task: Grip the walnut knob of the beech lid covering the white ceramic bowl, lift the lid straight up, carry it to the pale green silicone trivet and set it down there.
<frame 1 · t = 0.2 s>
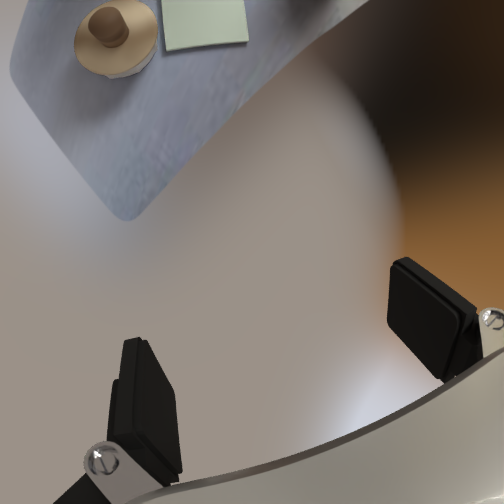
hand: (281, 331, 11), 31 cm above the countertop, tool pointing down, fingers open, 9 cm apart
bowl: (123, 46, 29), on the countertop
lid: (115, 36, 24), point 5 cm above the countertop, touching bowl
trivet: (203, 11, 29), on the countertop
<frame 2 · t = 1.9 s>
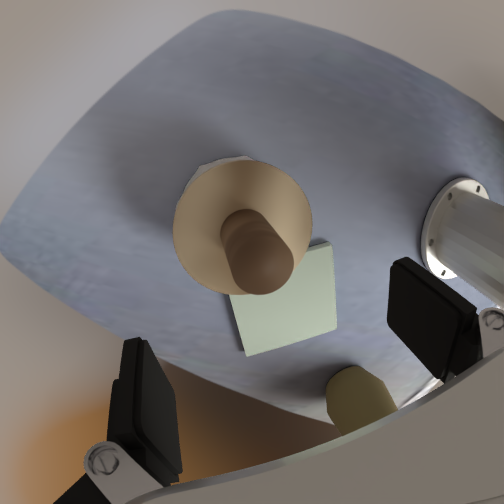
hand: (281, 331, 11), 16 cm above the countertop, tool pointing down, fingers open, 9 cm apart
bowl: (232, 208, 25), on the countertop
lid: (242, 228, 21), point 5 cm above the countertop, touching bowl
squeeze bottle: (344, 380, 38), on the countertop
trivet: (284, 301, 30), on the countertop
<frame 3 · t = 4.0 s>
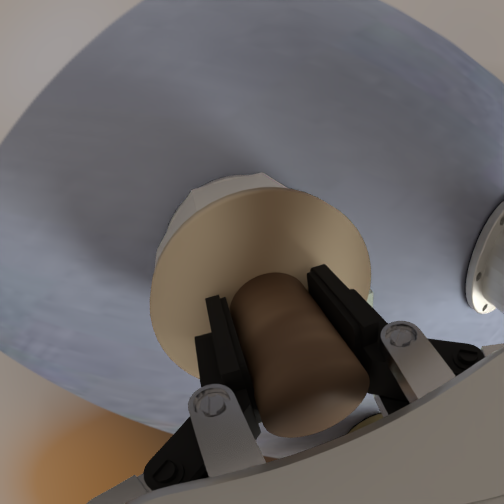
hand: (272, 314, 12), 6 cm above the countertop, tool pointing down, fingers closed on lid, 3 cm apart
bowl: (240, 250, 17), on the countertop
lid: (264, 298, 13), point 5 cm above the countertop, touching bowl, gripper
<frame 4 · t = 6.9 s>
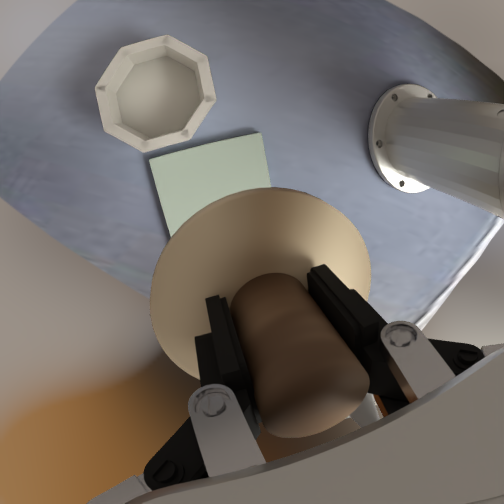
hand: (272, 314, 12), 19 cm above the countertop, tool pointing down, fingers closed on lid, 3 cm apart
bowl: (158, 97, 24), on the countertop
lid: (264, 298, 13), point 17 cm above the countertop, touching gripper
squeeze bottle: (301, 311, 36), on the countertop
trivet: (216, 196, 28), on the countertop
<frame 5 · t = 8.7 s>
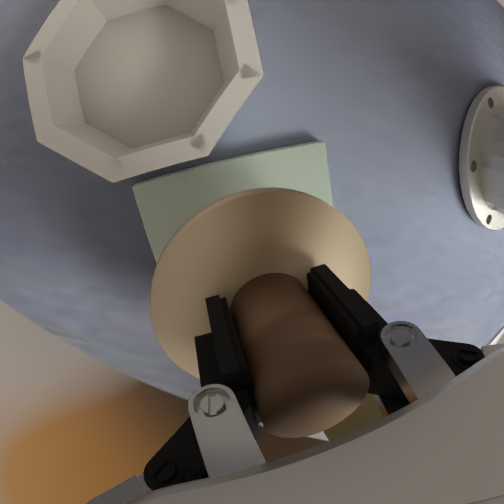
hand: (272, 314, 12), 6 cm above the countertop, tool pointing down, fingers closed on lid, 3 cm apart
bowl: (148, 75, 13), on the countertop
lid: (264, 298, 13), point 5 cm above the countertop, touching gripper
squeeze bottle: (349, 382, 25), on the countertop
trivet: (247, 245, 18), on the countertop
when the fingers open (3 cm above the countertop, at t = 10.1 s): lid drops 1 cm, resting on trivet.
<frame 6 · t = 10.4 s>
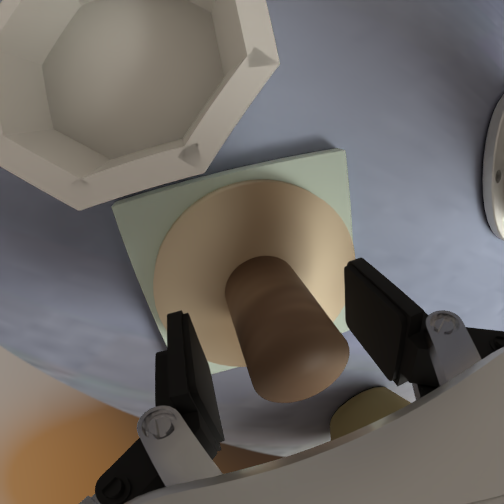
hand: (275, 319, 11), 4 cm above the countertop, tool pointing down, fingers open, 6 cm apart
bowl: (131, 69, 10), on the countertop
lid: (257, 280, 14), point 1 cm above the countertop, touching trivet
squeeze bottle: (359, 407, 23), on the countertop
trivet: (251, 272, 15), on the countertop
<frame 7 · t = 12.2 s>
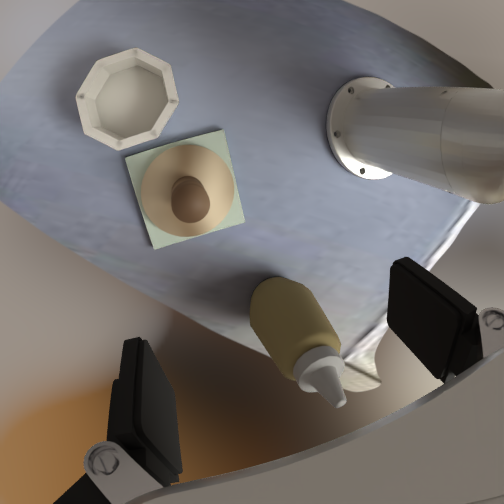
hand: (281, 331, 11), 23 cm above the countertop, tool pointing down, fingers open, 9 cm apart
bowl: (132, 102, 26), on the countertop
lid: (187, 190, 30), point 1 cm above the countertop, touching trivet
squeeze bottle: (272, 296, 39), on the countertop
trivet: (186, 189, 31), on the countertop
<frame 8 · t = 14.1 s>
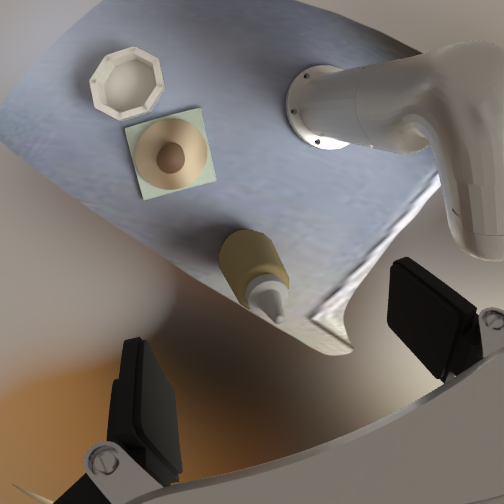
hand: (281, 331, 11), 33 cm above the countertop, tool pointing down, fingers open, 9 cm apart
bowl: (131, 87, 33), on the countertop
lid: (171, 153, 38), point 1 cm above the countertop, touching trivet
squeeze bottle: (241, 247, 46), on the countertop
trivet: (170, 153, 38), on the countertop
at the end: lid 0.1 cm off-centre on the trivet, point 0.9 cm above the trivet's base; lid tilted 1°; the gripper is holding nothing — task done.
